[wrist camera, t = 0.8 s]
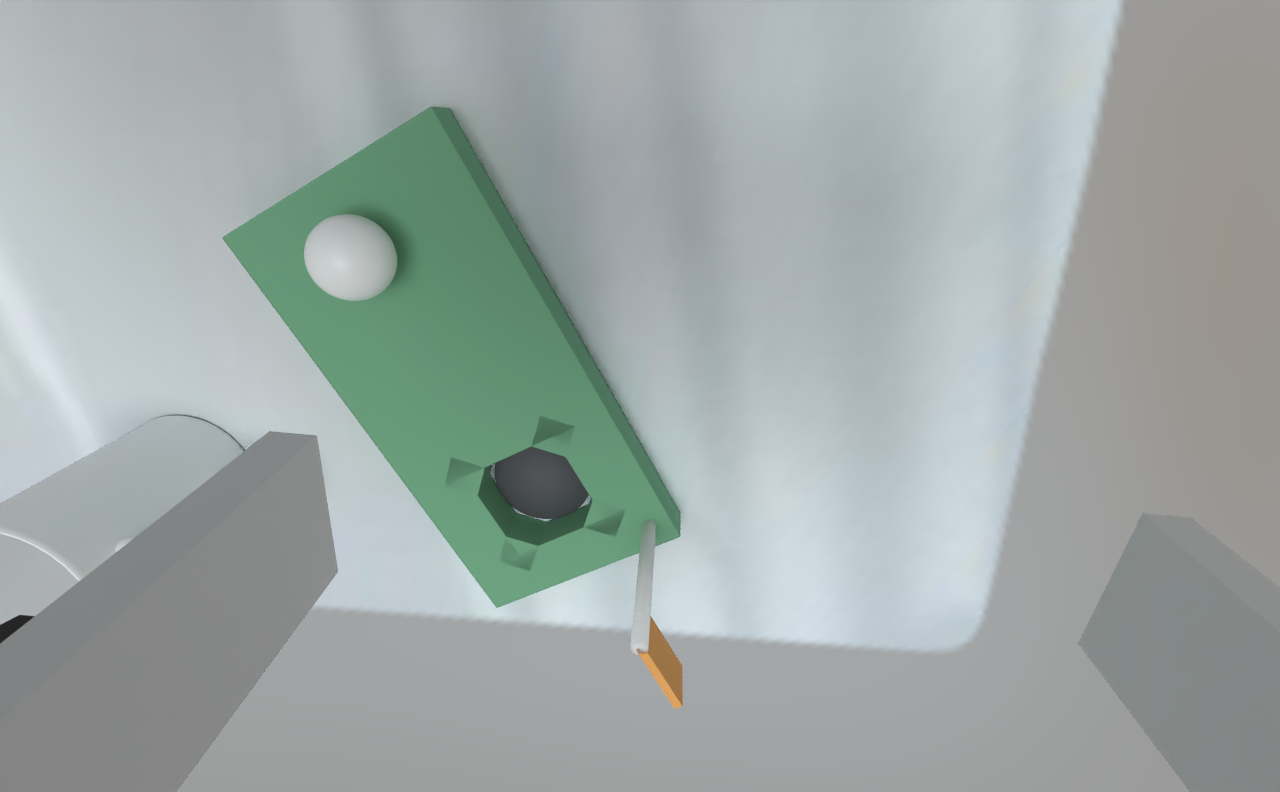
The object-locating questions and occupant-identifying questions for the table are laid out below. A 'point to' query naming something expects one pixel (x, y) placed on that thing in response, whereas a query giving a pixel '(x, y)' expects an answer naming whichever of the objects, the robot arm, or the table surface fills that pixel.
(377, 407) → the green
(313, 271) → the ball
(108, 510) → the mug
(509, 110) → the table surface
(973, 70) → the table surface
